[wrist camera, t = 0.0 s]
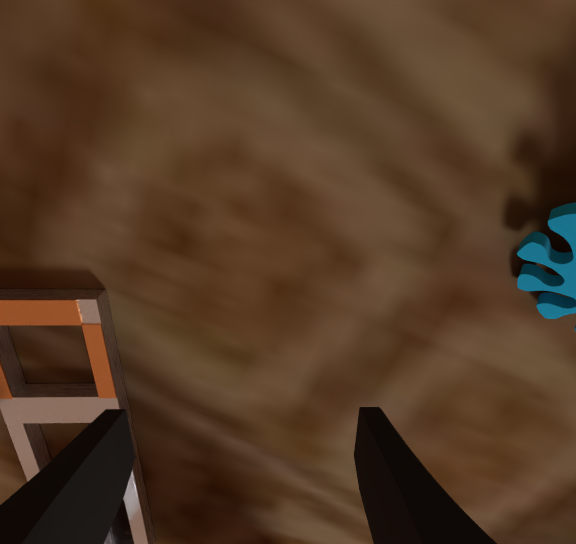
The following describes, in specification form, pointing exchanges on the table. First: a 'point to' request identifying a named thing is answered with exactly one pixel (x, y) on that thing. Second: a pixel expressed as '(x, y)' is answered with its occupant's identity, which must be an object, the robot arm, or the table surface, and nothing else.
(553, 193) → the table surface
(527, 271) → the gear
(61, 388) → the square hole plate
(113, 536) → the dark square post
